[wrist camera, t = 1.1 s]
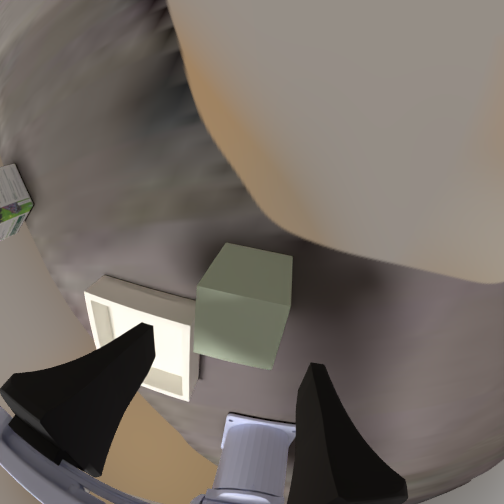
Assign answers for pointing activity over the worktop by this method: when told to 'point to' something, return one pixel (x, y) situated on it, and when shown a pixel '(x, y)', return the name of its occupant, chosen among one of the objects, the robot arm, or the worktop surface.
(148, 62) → the worktop surface
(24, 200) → the syrup box
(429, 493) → the worktop surface
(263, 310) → the block
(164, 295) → the bin
